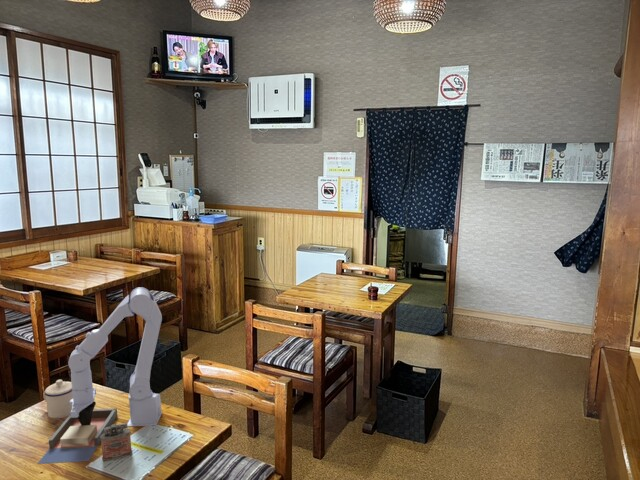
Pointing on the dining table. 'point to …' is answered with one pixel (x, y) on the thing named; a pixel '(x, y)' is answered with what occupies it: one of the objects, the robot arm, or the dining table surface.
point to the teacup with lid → (58, 399)
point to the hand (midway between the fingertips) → (86, 426)
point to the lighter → (116, 442)
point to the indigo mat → (68, 455)
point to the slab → (78, 435)
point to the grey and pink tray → (98, 418)
